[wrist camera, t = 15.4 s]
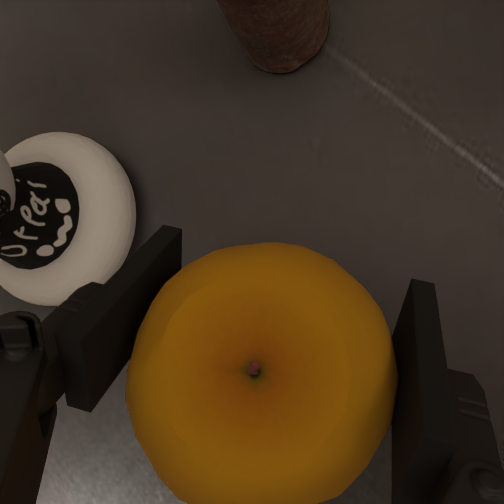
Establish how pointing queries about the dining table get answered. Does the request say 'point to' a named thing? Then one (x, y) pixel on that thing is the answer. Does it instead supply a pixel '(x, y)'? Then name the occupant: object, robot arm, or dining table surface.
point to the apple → (261, 378)
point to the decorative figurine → (62, 217)
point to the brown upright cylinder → (278, 30)
